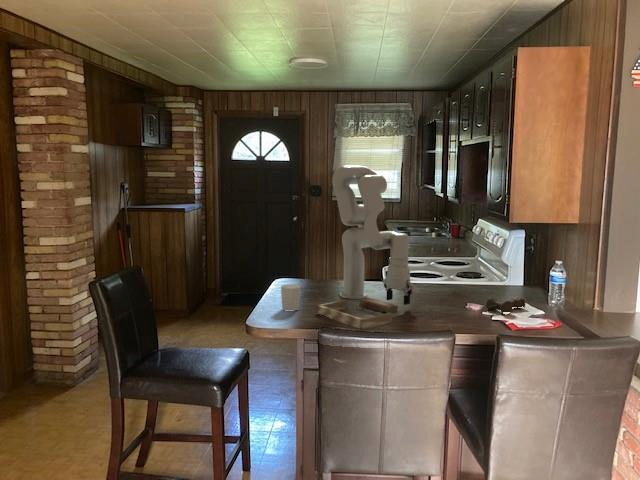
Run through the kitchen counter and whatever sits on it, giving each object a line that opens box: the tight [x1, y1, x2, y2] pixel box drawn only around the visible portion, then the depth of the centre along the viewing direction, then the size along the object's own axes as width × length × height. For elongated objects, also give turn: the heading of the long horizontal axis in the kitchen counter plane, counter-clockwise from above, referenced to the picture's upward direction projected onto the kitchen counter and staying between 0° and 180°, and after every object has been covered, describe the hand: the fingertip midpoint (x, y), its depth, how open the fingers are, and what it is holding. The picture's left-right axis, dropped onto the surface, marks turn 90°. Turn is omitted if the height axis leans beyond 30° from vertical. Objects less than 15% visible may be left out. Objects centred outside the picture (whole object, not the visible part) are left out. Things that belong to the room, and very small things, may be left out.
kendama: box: [485, 297, 526, 313], centre depth 219 cm, size 6×10×20 cm
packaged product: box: [355, 297, 404, 319], centre depth 216 cm, size 18×5×10 cm
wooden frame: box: [315, 299, 393, 331], centre depth 206 cm, size 27×16×4 cm, turn 40°
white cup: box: [280, 283, 301, 310], centre depth 217 cm, size 8×8×10 cm
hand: (397, 302), depth 223 cm, fingers open, 9 cm apart
